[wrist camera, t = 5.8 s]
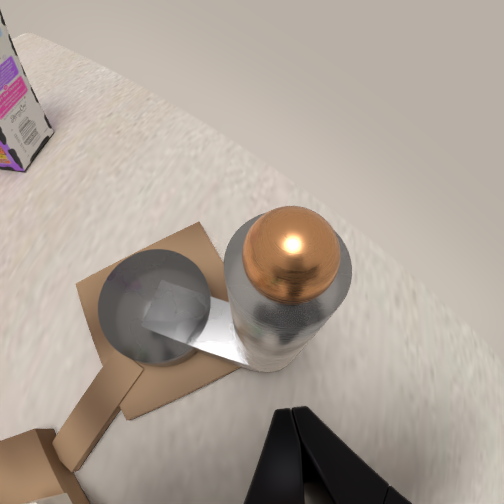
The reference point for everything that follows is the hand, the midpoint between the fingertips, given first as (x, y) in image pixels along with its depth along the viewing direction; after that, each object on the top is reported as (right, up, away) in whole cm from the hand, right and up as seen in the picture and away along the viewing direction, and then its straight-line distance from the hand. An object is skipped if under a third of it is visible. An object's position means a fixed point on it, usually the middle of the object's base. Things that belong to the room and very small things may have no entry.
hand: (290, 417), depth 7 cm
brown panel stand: (-9, -7, +6) cm, 13 cm away
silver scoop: (-4, 0, +9) cm, 10 cm away
